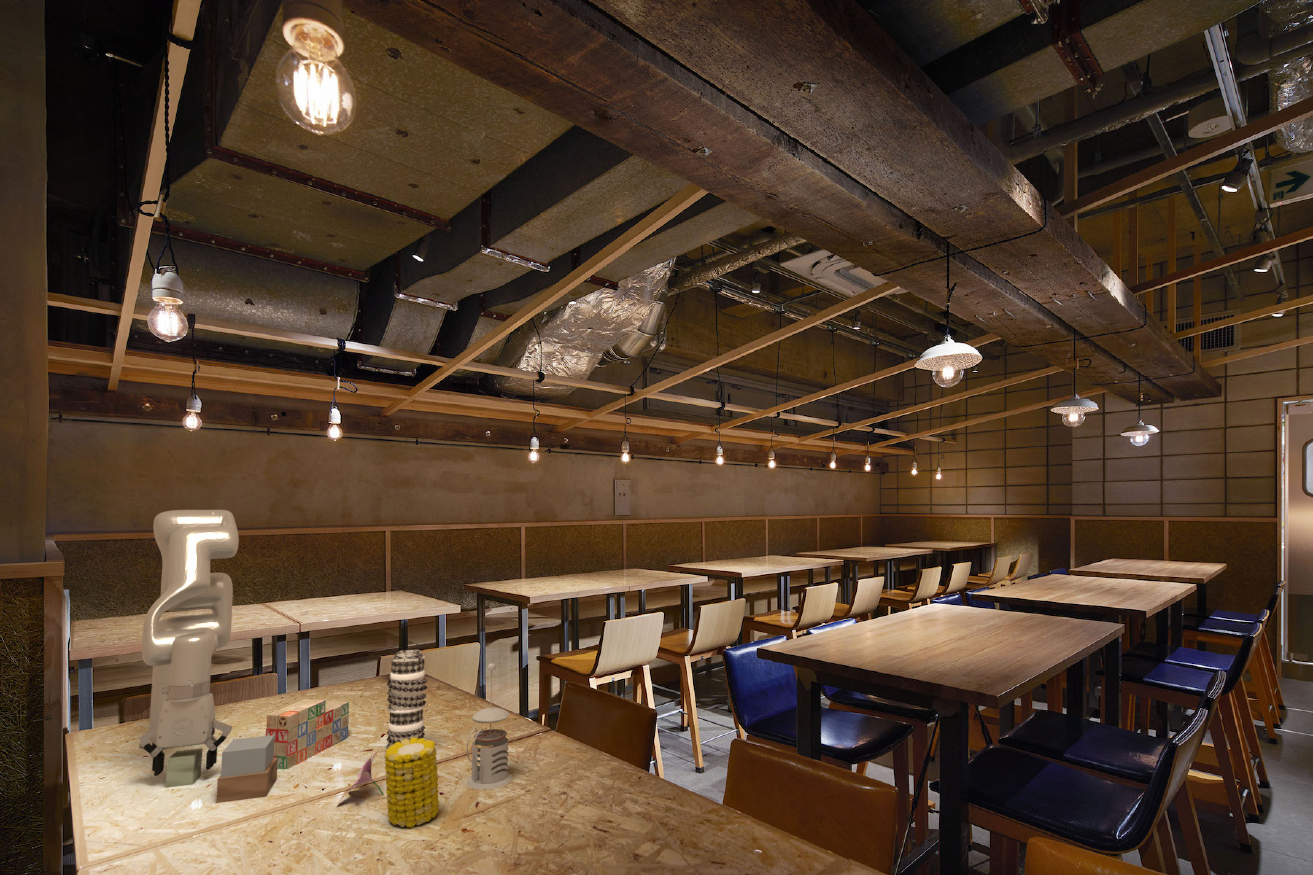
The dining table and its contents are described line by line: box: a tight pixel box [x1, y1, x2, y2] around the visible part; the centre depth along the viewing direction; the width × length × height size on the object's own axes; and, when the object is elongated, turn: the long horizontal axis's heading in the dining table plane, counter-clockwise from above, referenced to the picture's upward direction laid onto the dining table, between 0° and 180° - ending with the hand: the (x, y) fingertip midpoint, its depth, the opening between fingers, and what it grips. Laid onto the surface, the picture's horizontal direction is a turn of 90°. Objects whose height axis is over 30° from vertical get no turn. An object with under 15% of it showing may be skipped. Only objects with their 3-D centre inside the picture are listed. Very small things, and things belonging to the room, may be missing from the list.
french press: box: [466, 663, 513, 791], centre depth 144 cm, size 10×12×25 cm
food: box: [384, 737, 440, 829], centre depth 127 cm, size 15×12×10 cm
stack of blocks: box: [265, 698, 350, 770], centre depth 162 cm, size 21×6×12 cm, turn 168°
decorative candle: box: [385, 648, 428, 749], centre depth 158 cm, size 9×9×25 cm
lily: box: [336, 745, 385, 807], centre depth 137 cm, size 12×12×10 cm
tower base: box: [215, 758, 278, 804], centre depth 140 cm, size 9×9×5 cm
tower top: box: [220, 735, 275, 777], centre depth 140 cm, size 8×8×5 cm
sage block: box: [165, 747, 204, 789], centre depth 145 cm, size 5×5×6 cm
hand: (184, 770), depth 144 cm, fingers open, 9 cm apart
